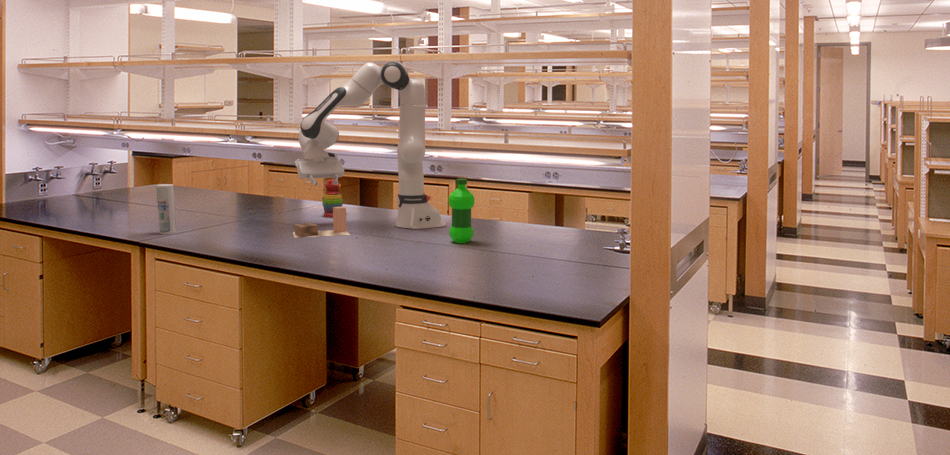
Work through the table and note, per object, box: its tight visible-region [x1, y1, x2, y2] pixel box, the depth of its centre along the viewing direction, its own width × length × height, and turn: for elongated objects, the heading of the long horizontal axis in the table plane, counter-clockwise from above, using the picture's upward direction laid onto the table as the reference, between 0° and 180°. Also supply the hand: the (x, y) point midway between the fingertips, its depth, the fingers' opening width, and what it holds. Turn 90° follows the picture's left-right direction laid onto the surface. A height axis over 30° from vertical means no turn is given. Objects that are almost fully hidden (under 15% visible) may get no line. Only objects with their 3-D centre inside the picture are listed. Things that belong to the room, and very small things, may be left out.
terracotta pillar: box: [332, 205, 348, 232], centre depth 292 cm, size 4×4×10 cm
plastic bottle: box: [448, 178, 475, 244], centre depth 277 cm, size 10×10×25 cm
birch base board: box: [292, 229, 351, 239], centre depth 288 cm, size 22×12×1 cm, turn 108°
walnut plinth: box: [294, 222, 319, 238], centre depth 285 cm, size 7×7×4 cm
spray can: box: [155, 183, 177, 235], centre depth 290 cm, size 6×6×20 cm
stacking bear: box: [322, 178, 347, 219], centre depth 336 cm, size 11×10×18 cm
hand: (326, 184), depth 299 cm, fingers open, 8 cm apart
